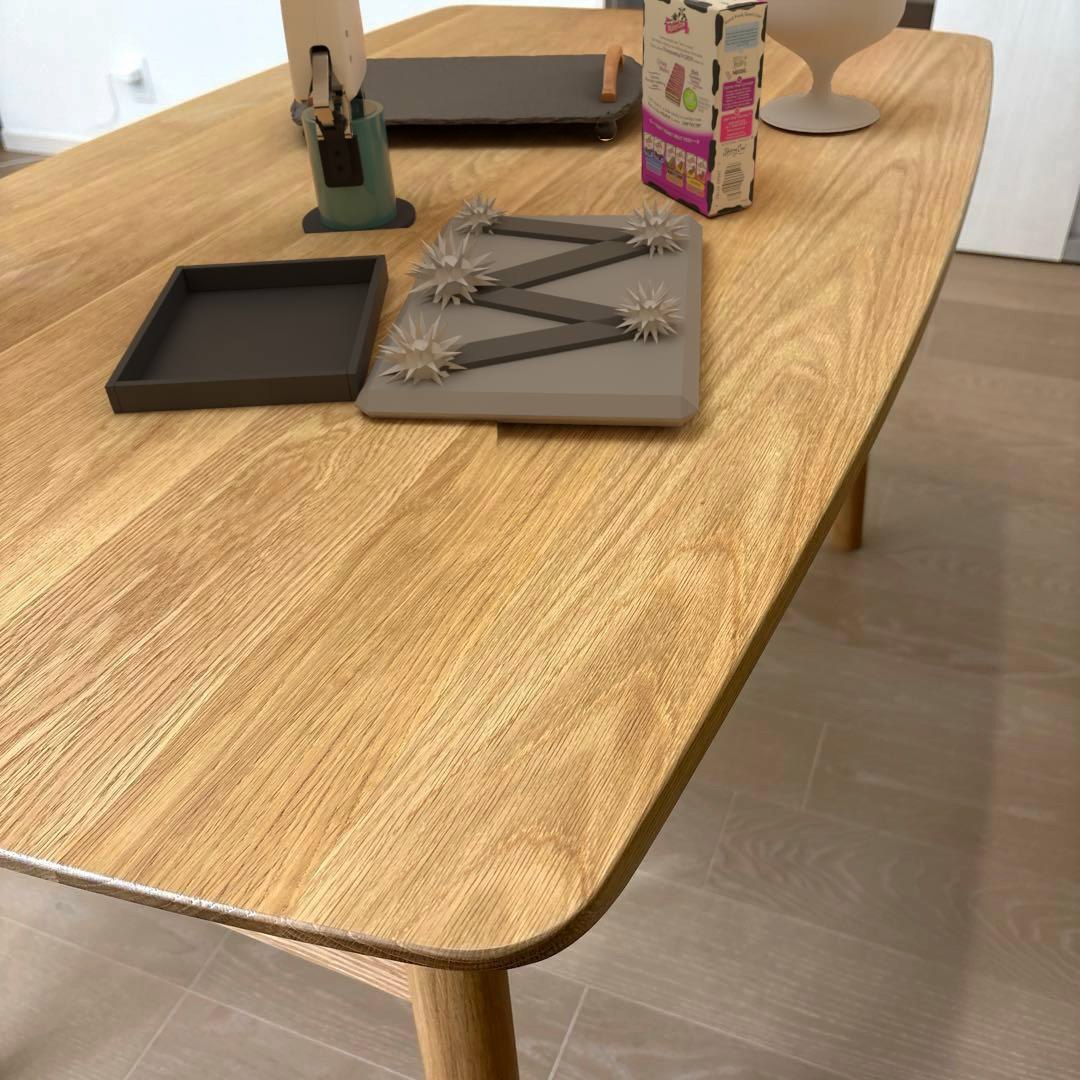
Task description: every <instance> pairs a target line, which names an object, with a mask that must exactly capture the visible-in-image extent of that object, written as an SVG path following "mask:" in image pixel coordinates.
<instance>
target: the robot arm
mask: <svg viewBox="0 0 1080 1080" xmlns="http://www.w3.org/2000/svg"><path fill="white" fill-rule="evenodd" d="M279 4H280V11H281V12H280V13H281V19H282V26H283V33H284V39H285V41H284V42H285V47H286V54H287V59H288V60H287V61H288V67H289V74H290V81H291V87H292V93H293V99H294V98H295V99H296V101H297V102H299V103H300V104H305V103H306V101H307V100H308V99H309V97H310V95H311V93H312V91H313V107H314V112H315V123H316V133H317V142H318V147H319V153H320V158H321V164H322V169H323V175H324V180H325V185H326V186H327V187H329V188H337V187H354V186H361V185H363V183H364V175H363V168H362V162H361V156H360V150H359V143H358V137H357V135H353V128H352V116H351V105H350V101H351V100H352V99H366V97H365V91H364V87H363V83H362V82H363V79H364V76H365V73H366V67H367V62H366V59H367V50H366V41H365V33H364V26H363V19H362V12H361V5H360V0H279ZM340 106H342V115H343V120H342V118H341V117H342V115H341V114H340V113H339V111H338V110H334V107H340Z"/></svg>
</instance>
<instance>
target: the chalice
mask: <svg viewBox="0 0 1080 1080" xmlns="http://www.w3.org/2000/svg"><path fill="white" fill-rule="evenodd" d="M764 1H768V8H767V22H766V35H767V36H768V37H769V38H770V39H772V41H774V42H776V43H778V44H779V45H781V46H783V47H784V48H786V49H787V50H788V51H790V52H792V53H794V54H795V55H796V56H798V57H800V59H802V60H803V61H804V62H805V63H806V65H808V67H809V70H810V72H811V75H812V85H811V89H810V90H809V91H808V92H807V93H805V92H804V93H795V94H789V95H785V96H780V97H776V98H774V99H772V100H769V101H768V102H766V103H765V104H763V105H762V106H760V108H759V118H760V119H761V120H762V121H764V123H765V122H766V123H767V124H769V125H771V126H774V127H777V128H780V129H784V130H789V131H795V132H805V133H836V132H837V133H839V132H847V131H852V130H857V129H861V128H864V127H867V126H870V125H872V124H874V123H875V122H877V121H878V120H879V118H880V116H881V112H880V110H879V109H878V108H877V106H875V104H873V103H872V102H870V101H869V100H865V99H863V98H860V97H856V96H852V95H847V94H839V93H834V91H833V90H832V80H833V77H834V74H835V73H836V72H837V70H838V68H840V66H841V65H842V64H843V63H844V62H845V61H846V60H848V59H849V58H851V57H853V56H854V55H856V54H858V53H860V52H862V51H864V50H865V49H868V48H869V47H871V46H873V45H875V44H877V43H879V42H881V41H882V40H884V39H885V38H886V37H888V36H889V35H890V34H892V32H893V31H894V30H895V29H896V28H897V26H899V23H900V21H901V19H902V18H903V16H904V13H905V12H906V11H905V10H906V5H907V0H764Z"/></svg>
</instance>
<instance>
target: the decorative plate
mask: <svg viewBox="0 0 1080 1080" xmlns="http://www.w3.org/2000/svg"><path fill="white" fill-rule="evenodd" d="M471 194H472V200H471V199H470V197H469V196H467V199H468V201H467V200H465V198H463V197H461V198H462V200H463V201H462V200H461V199H459V201H460V203H461V204H462V206H460V205H458V207H459V208H460V209H461V210H462V211H461V210H453V211H454V212H456V213H458V215H453V216H452V217H451V218H450V219H449V220H448V221H447V222H445V224H444V225H443V226H441V229H440V230H437V237H436V239H435V241H434V242H433V241H432V239H430V238H428V240H429V242H430V245H431V246H430V245H429V244H427V242H425V241H424V240H423V239H420V241H421V243H422V244H423V245H424V247H425V248H424V247H422V246H421V245H419V244H418V243H417V242H415V243H416V246H417V247H418V249H420V251H421V252H422V254H421V253H419V252H416V251H415V253H416V254H417V255H418V256H419V257H420V258H421V259H422V261H424V262H418V261H412V260H407V262H408V263H410V264H411V265H413V266H416V267H414V268H408V270H409V271H412V272H406V273H402V275H406V276H410V277H414V278H416V279H415V281H414V282H413V284H412V287H411V289H410V291H408V292H407V293H406V295H407V297H406V299H405V301H404V303H403V305H402V307H401V309H400V311H399V313H398V315H397V317H396V318H395V321H394V322H391V324H392V327H391V329H390V328H389V327H387V326H385V328H386V329H387V331H388V332H389V333H387V337H386V339H385V341H384V343H383V345H380V344H376V346H378V347H380V348H381V350H378V352H379V353H378V355H377V356H375V355H374V358H376V359H375V361H374V363H373V365H372V367H371V369H370V371H369V374H367V376H366V381H365V383H364V385H363V387H362V389H361V391H360V393H359V395H358V397H357V399H356V401H354V406H355V408H357V409H359V410H360V411H361V412H363V413H364V415H367V417H370V418H371V419H404V420H405V419H407V420H408V419H409V420H411V419H412V420H453V421H454V420H455V421H495V422H496V423H499V424H500V423H503V424H540V425H541V424H542V425H543V424H544V425H545V424H546V425H547V424H548V425H584V426H585V425H587V426H588V425H589V426H590V425H591V426H628V427H629V426H631V427H632V426H633V427H634V426H635V427H672V428H673V427H678V428H681V427H682V426H684V425H685V424H686V423H687V422H689V421H690V420H691V419H693V418H695V416H697V415H698V414H699V413H700V412H699V411H700V371H701V370H700V369H701V331H702V330H701V329H702V327H701V326H702V323H701V322H702V284H703V283H702V279H703V277H702V276H703V236H704V235H703V232H704V226H703V225H702V224H701V223H700V222H698V221H697V220H696V219H695V218H694V217H693V216H692V215H691V214H674V212H675V210H676V208H677V206H678V204H675V205H674V206H673V208H672V205H670V198H669V199H668V200H667V202H666V203H665V204H664V206H663V208H662V209H661V211H660V208H659V207H658V200H657V195H655V196H654V202H653V209H652V211H651V209H650V207H649V204H648V203H647V201H646V199H645V198H643V201H644V204H642V207H643V213H644V214H643V213H642V212H641V211H639V210H638V208H636V207H635V206H634V205H633V204H631V207H630V209H631V211H632V212H633V213H634V214H608V215H607V214H571V215H569V214H564V215H563V214H559V215H558V214H557V215H555V214H553V215H551V214H550V215H548V214H547V215H543V214H539V215H538V214H537V215H531V214H530V215H525V214H523V215H521V214H520V215H506V214H505V213H507V212H508V211H509V210H508V209H507V210H505V211H501V212H499V211H500V210H502V208H504V207H505V206H506V204H504V205H501V206H499V207H497V208H494V209H493V207H494V204H495V203H496V200H497V198H498V196H496V197H494V198H493V199H492V200H491V197H492V194H493V192H491V193H490V194H489V195H488V196H487V197H486V199H485V201H483V196H482V191H481V190H479V193H477V196H476V197H477V198H476V197H475V195H474V193H473V192H471ZM490 201H491V202H490ZM669 205H670V206H669Z"/></svg>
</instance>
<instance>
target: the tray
mask: <svg viewBox="0 0 1080 1080" xmlns="http://www.w3.org/2000/svg"><path fill="white" fill-rule="evenodd" d="M388 284H389V271H388V264H387V257H386V254H371V255H370V254H369V255H368V254H367V255H352V256H335V257H331V256H330V257H315V258H314V257H313V258H296V259H280V260H279V259H278V260H262V261H261V260H260V261H259V260H258V261H243V262H225V263H224V262H223V263H209V264H190V265H189V264H187V265H176V266H175V268H174V270H173V271H172V273H171V274H170V277H169V278H168V280H167V281H166V283H165V285H164V286H163V288H162V289H161V291H160V293H159V294H158V296H157V298H156V300H155V301H154V303H153V305H152V306H151V308H150V310H149V311H148V313H147V315H146V317H145V318H144V320H143V321H142V323H141V325H140V326H139V328H138V330H137V331H136V333H135V335H134V336H133V338H132V339H131V341H130V343H129V345H127V346H128V347H127V348H126V349H125V352H124V353H123V355H122V357H120V360H119V361H118V363H117V365H116V366H115V368H114V370H113V372H112V373H111V375H110V376H109V378H108V380H107V382H106V383H105V384H104V390H105V393H106V395H107V398H108V400H109V404H110V407H111V409H112V412H113V413H114V414H115V415H117V414H119V415H120V414H135V413H136V414H137V413H154V412H175V411H193V410H210V409H211V410H213V409H232V408H233V409H234V408H250V407H270V406H271V407H272V406H290V405H307V404H308V405H311V404H324V403H325V404H327V403H328V404H331V403H347V402H349V403H350V402H355V401H356V399H357V397H358V395H359V393H360V391H361V389H362V387H363V385H364V383H365V381H366V379H367V377H368V371H369V367H370V364H371V363H370V362H371V360H372V359H371V358H372V354H373V351H374V347H375V346H374V345H375V341H376V337H377V333H378V328H379V323H380V320H381V315H382V310H383V306H384V301H385V297H386V293H387V289H388Z"/></svg>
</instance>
